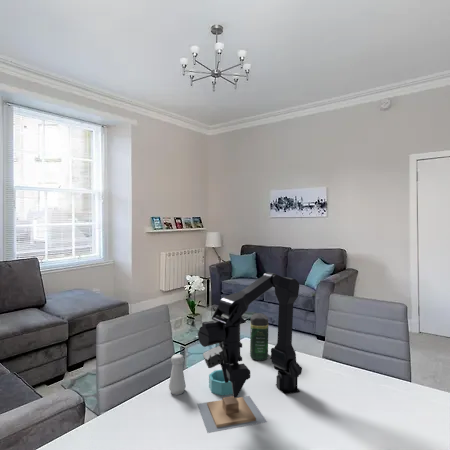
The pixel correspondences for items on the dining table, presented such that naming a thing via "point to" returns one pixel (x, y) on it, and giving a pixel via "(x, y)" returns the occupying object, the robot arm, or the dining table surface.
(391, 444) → the dining table surface
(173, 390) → the salt shaker
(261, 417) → the mat
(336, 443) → the dining table surface
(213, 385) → the bowl
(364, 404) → the dining table surface
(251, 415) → the lid
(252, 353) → the coffee jar
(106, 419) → the dining table surface
